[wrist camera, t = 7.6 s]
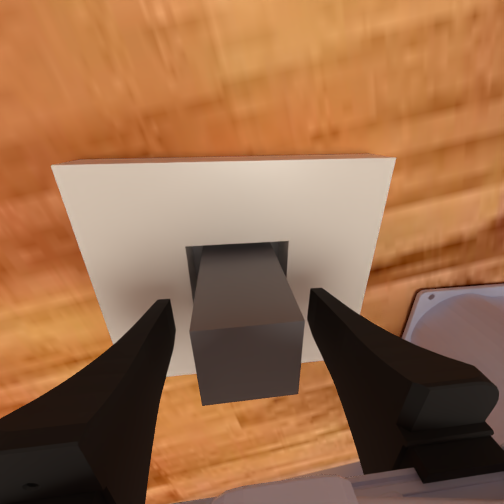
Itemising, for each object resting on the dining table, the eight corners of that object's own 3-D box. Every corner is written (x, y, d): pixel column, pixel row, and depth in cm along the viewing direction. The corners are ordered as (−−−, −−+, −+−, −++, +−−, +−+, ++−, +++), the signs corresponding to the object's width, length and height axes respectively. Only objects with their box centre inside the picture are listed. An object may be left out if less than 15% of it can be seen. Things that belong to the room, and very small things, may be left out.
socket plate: (369, 153, 14) (396, 157, 12) (335, 333, 21) (349, 357, 18) (80, 159, 13) (50, 165, 11) (137, 351, 19) (125, 380, 17)
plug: (267, 235, 16) (304, 320, 9) (266, 287, 18) (298, 393, 10) (204, 239, 15) (189, 331, 8) (210, 291, 17) (202, 405, 10)
